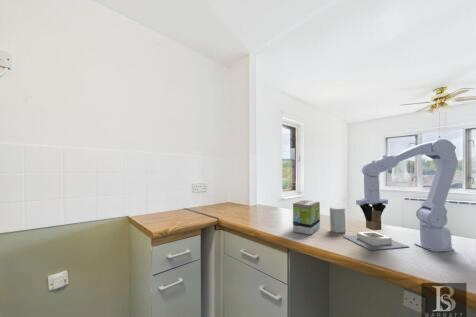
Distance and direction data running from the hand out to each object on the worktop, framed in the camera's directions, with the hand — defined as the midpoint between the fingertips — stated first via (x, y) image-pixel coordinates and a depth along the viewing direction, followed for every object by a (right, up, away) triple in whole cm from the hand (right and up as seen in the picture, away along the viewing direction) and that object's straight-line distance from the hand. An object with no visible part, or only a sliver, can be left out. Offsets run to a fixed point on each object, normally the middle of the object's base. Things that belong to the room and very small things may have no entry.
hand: (372, 220), depth 89 cm
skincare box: (-8, -10, +14) cm, 20 cm away
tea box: (-23, -11, +18) cm, 31 cm away
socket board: (0, -9, 0) cm, 9 cm away
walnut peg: (0, -4, 0) cm, 4 cm away
